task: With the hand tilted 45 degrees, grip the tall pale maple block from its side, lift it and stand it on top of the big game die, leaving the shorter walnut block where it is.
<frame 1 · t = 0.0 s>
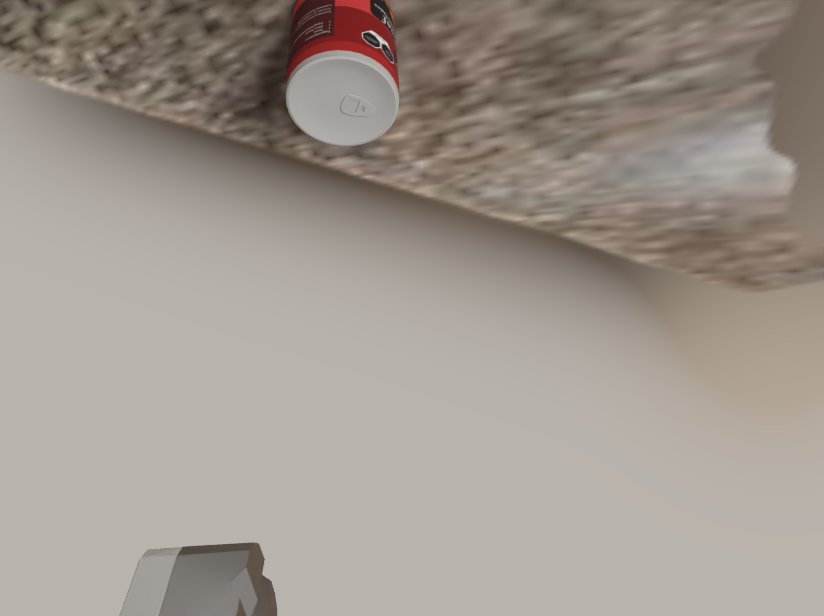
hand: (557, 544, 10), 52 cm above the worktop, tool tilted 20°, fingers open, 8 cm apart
canned food: (343, 17, 61), on the worktop
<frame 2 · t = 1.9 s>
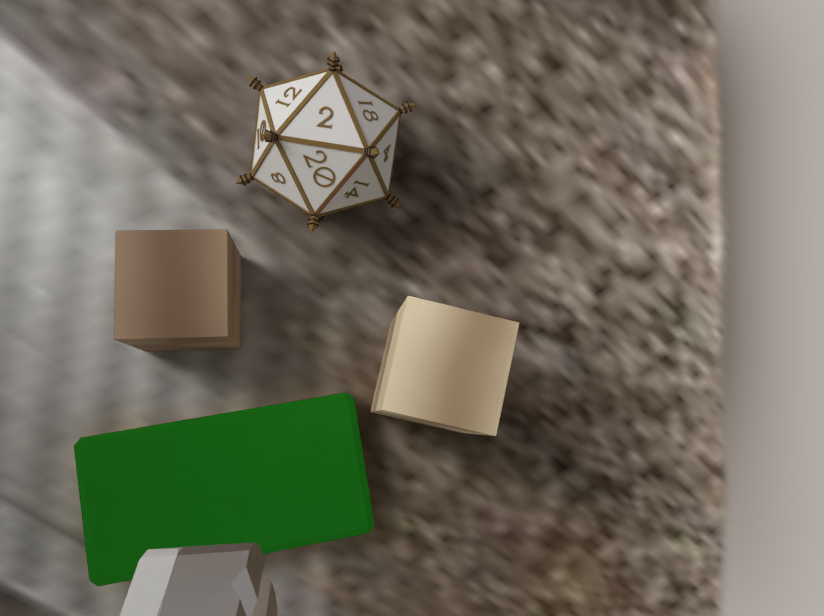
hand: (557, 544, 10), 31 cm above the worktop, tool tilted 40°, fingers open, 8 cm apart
dish sponge: (232, 482, 41), on the worktop
maple block: (425, 377, 42), on the worktop
game die: (325, 170, 43), on the worktop
walnut block: (193, 303, 41), on the worktop
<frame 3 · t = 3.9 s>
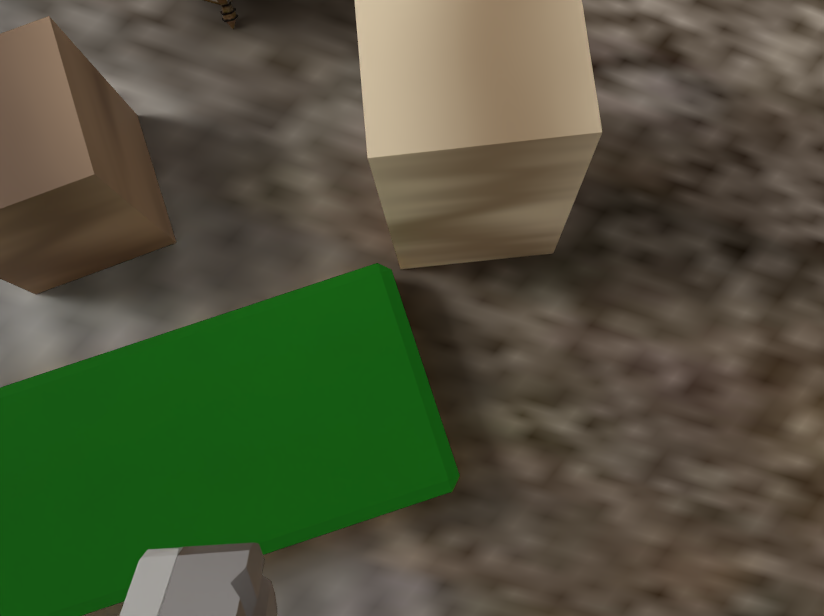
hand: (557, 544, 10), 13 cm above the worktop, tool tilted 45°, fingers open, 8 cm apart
dish sponge: (225, 447, 25), on the worktop
maple block: (468, 189, 26), on the worktop
walnut block: (88, 203, 27), on the worktop
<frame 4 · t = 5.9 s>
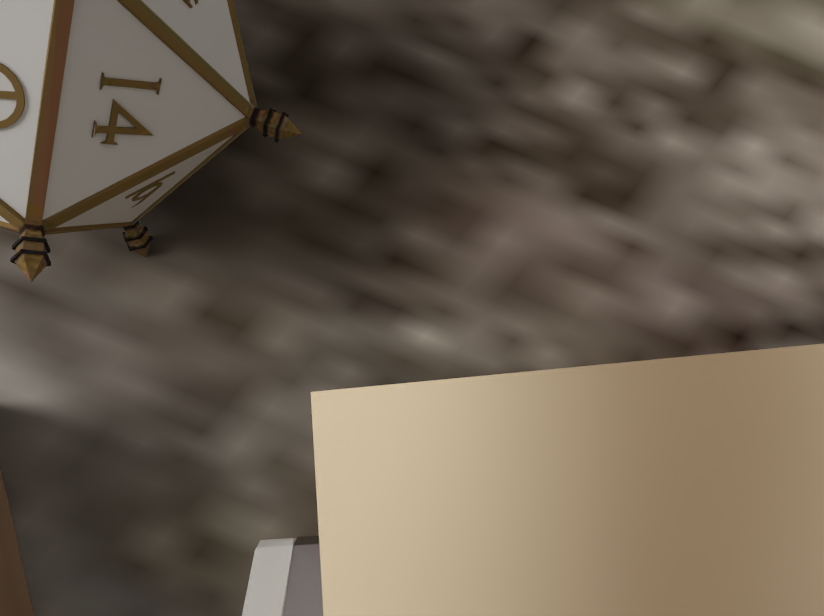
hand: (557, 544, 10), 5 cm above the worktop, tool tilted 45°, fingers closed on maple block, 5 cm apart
maple block: (532, 557, 15), on the worktop, touching gripper
game die: (135, 136, 18), on the worktop
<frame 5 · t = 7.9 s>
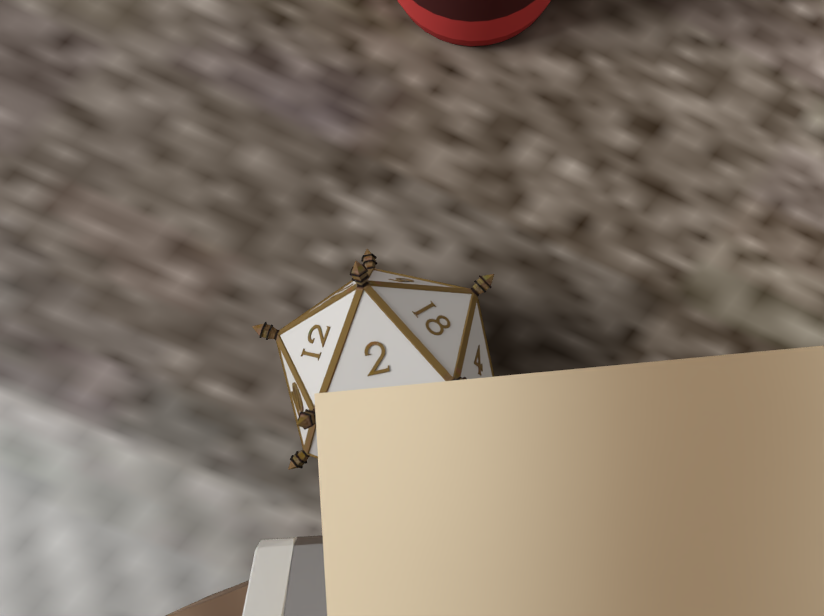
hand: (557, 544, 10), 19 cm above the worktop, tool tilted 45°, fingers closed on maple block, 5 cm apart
maple block: (534, 558, 15), point 15 cm above the worktop, touching gripper
game die: (400, 386, 31), on the worktop
when the fingers open (14 cm above the worktop, at t = 9.8 s): maple block drops 2 cm, resting on game die.
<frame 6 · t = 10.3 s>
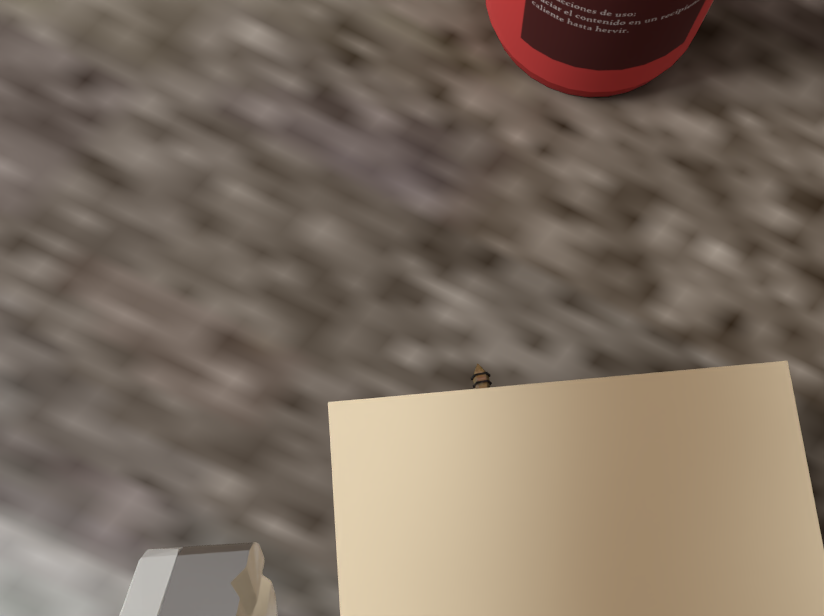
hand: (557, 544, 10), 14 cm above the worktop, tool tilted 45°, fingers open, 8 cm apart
canned food: (588, 8, 28), on the worktop
maple block: (522, 548, 17), point 8 cm above the worktop, touching game die
game die: (507, 528, 25), on the worktop, touching maple block
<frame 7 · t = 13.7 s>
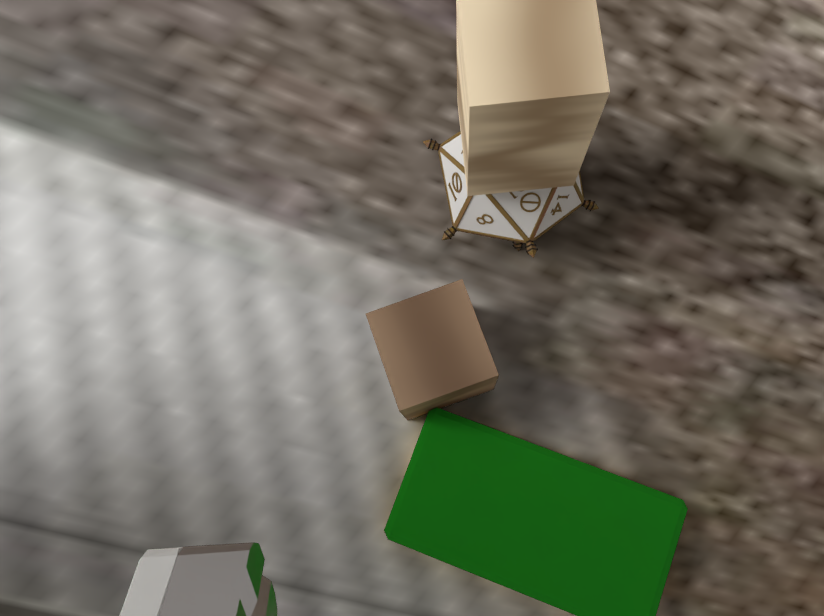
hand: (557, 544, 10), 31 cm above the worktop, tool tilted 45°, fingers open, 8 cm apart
dish sponge: (530, 517, 41), on the worktop
maple block: (514, 141, 37), point 8 cm above the worktop, touching game die
game die: (506, 202, 45), on the worktop, touching maple block
walnut block: (435, 362, 43), on the worktop
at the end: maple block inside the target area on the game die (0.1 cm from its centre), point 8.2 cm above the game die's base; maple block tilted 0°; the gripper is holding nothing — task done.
